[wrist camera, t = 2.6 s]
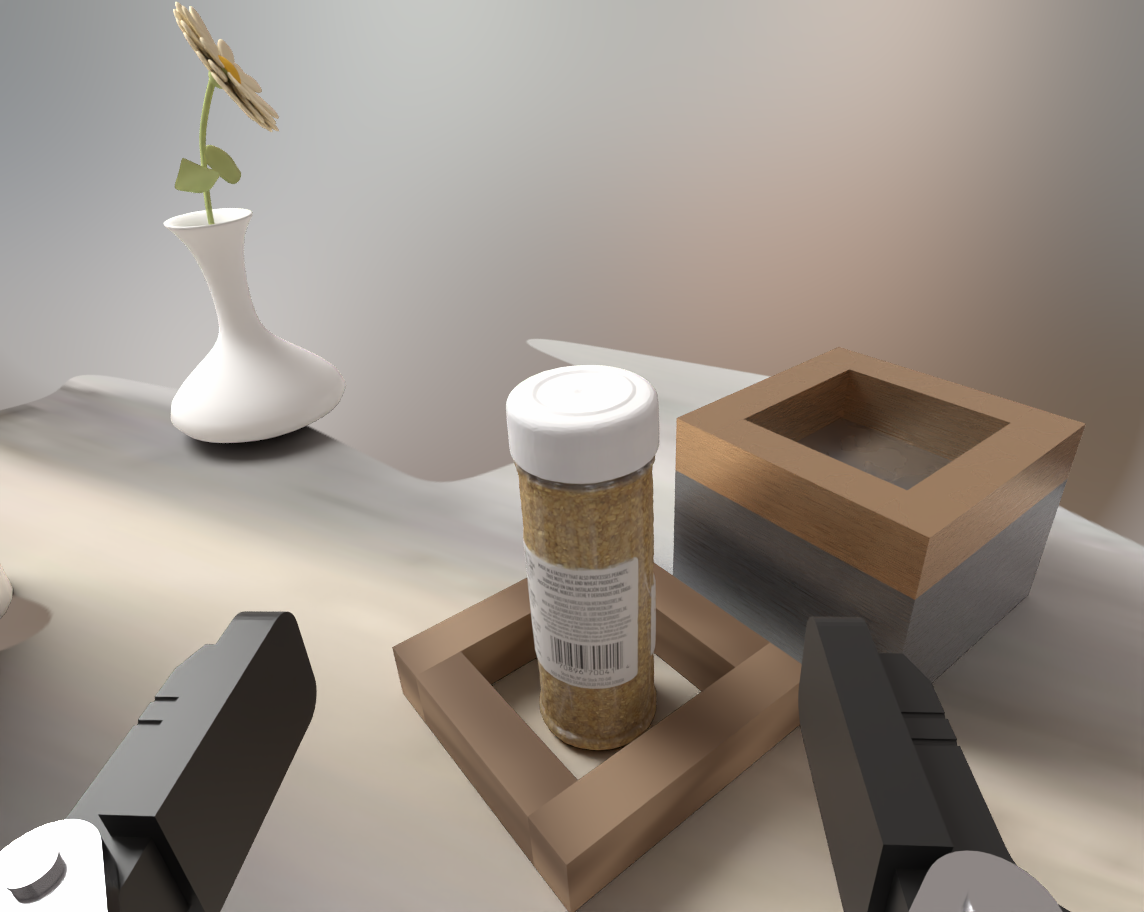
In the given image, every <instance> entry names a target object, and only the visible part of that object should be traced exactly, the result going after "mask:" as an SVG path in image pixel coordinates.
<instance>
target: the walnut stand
mask: <svg viewBox="0 0 1144 912" xmlns="http://www.w3.org/2000/svg"><path fill="white" fill-rule="evenodd" d="M653 573H654V576H655V582H656V642H655V649H654V653H655V654H657V655H658V656H659V657H660V658H661V659H663V660H664V661H665V662H666V663H668V664H669V665H670V666H671V667H673V668H674V669H675V670H676V671H678V672H679V673H680V674H681V675H683V676H684V677H685V678H686V679H687V680H689V681H690V682H691V683H692V684H694V685H695V686H696V687H697V688H699V689H700V690H701V691H702V692H701V693H699V694H698V695H696V696H695V697H694V698H692V699H691V700H689V701H688V702H687V703H685V704H684V705H682V706H681V707H680V708H678V709H677V710H675V711H674V712H673V713H671V714H670V715H668V716H667V717H666V718H664V719H663V720H661V721H660V722H659V723H657V724H656V725H655V726H653V727H652V728H650V729H649V730H648V731H646V732H645V733H643V734H642V735H641V736H639V737H638V738H636V739H635V740H634V741H632V742H631V743H629V744H628V745H627V746H625V747H624V748H622V749H621V750H620V751H618V752H617V753H616V754H614V755H613V756H611V757H610V758H609V759H607V760H606V761H604V762H603V763H602V764H600V765H599V766H597V767H596V768H595V769H593V770H592V771H590V772H589V773H588V774H586V775H585V776H583V777H582V778H581V779H579V780H577V779H576V778H575V777H574V776H573V774H572V773H571V772H570V771H569V770H568V769H567V768H566V767H565V766H564V765H563V763H562V762H561V761H560V760H559V759H558V758H557V757H556V756H555V755H554V754H553V752H552V751H551V750H550V749H549V748H548V747H547V746H546V745H545V744H544V743H543V741H542V740H541V739H540V738H539V737H538V736H537V735H536V734H535V733H534V732H533V730H532V729H531V728H530V727H529V726H528V725H527V724H526V723H525V722H524V721H523V719H522V718H521V717H520V716H519V715H518V714H517V713H516V712H515V711H514V710H513V708H512V707H511V706H510V705H509V704H508V703H507V702H506V701H505V700H504V699H503V697H502V696H501V695H500V694H499V693H498V692H497V691H496V690H495V689H494V688H493V686H492V685H491V684H492V683H494V682H496V681H498V680H499V679H501V678H503V677H504V676H506V675H508V674H509V673H511V672H513V671H514V670H516V669H518V668H520V667H521V666H523V665H525V664H526V663H528V662H530V661H531V660H533V659H535V658H537V655H536V651H535V644H534V635H533V627H532V618H531V609H530V599H529V589H528V579H527V578H525V579H523V580H521V581H520V582H518V583H516V584H514V585H512V586H510V587H508V588H506V589H504V590H502V591H500V592H498V593H496V594H494V595H492V596H491V597H489V598H487V599H485V600H483V601H481V602H479V603H477V604H475V605H473V606H471V607H469V608H467V609H465V610H463V611H462V612H460V613H458V614H456V615H454V616H452V617H450V618H448V619H446V620H444V621H442V622H440V623H438V624H436V625H435V626H433V627H431V628H429V629H427V630H425V631H423V632H421V633H419V634H417V635H415V636H413V637H411V638H409V639H407V640H406V641H404V642H402V643H400V644H398V645H396V646H394V647H392V648H393V652H394V656H395V661H396V665H397V669H398V674H399V678H400V682H401V686H402V691H403V694H404V695H405V696H406V698H407V699H408V700H409V702H410V703H411V704H412V706H413V707H414V708H415V710H416V711H417V712H418V714H419V715H420V716H421V718H422V719H423V720H424V721H425V723H426V724H427V725H428V727H429V728H430V729H431V731H432V732H433V733H434V735H435V736H436V737H437V739H438V740H439V741H440V743H441V744H442V745H443V747H444V748H445V749H446V750H447V752H448V753H449V754H450V756H451V757H452V758H453V760H454V761H455V762H456V764H457V765H458V766H459V768H460V769H461V770H462V772H463V773H464V774H465V776H466V777H467V778H468V779H469V781H470V782H471V783H472V785H473V786H474V787H475V789H476V790H477V791H478V793H479V794H480V795H481V797H482V798H483V799H484V801H485V802H486V803H487V805H488V806H489V807H490V808H491V810H492V811H493V812H494V814H495V815H496V816H497V818H498V819H499V820H500V822H501V823H502V824H503V826H504V827H505V828H506V830H507V831H508V832H509V834H510V835H511V836H512V838H513V839H514V840H515V841H516V843H517V844H518V845H519V847H520V848H521V849H522V851H523V852H524V853H525V855H526V856H527V857H528V859H529V860H530V861H531V863H532V864H533V865H534V867H535V868H536V869H537V870H538V872H539V873H540V874H541V876H542V877H543V878H544V880H545V881H546V882H547V884H548V885H549V886H550V888H551V889H552V890H553V892H554V893H555V894H556V896H557V897H558V898H559V899H560V901H561V902H562V903H563V905H564V906H565V907H566V909H567V910H568V911H569V912H575V911H576V910H577V909H578V908H580V907H581V906H582V905H583V904H584V903H586V902H587V901H588V900H589V899H590V898H592V897H593V896H594V895H595V894H596V893H598V892H599V891H600V890H601V889H602V888H604V887H605V886H606V885H607V884H608V883H610V882H611V881H612V880H613V879H614V878H616V877H617V876H618V875H619V874H621V873H622V872H623V871H624V870H625V869H627V868H628V867H629V866H630V865H631V864H633V863H634V862H635V861H636V860H637V859H639V858H640V857H641V856H642V855H643V854H645V853H646V852H647V851H648V850H649V849H651V848H652V847H653V846H654V845H655V844H657V843H658V842H659V841H660V840H662V839H663V838H664V837H665V836H666V835H668V834H669V833H670V832H671V831H672V830H674V829H675V828H676V827H677V826H678V825H680V824H681V823H682V822H683V821H684V820H686V819H687V818H688V817H689V816H690V815H692V814H693V813H694V812H695V811H696V810H698V809H699V808H700V807H701V806H702V805H704V804H705V803H706V802H707V801H709V800H710V799H711V798H712V797H713V796H715V795H716V794H717V793H718V792H719V791H721V790H722V789H723V788H724V787H725V786H727V785H728V784H729V783H730V782H731V781H733V780H734V779H735V778H736V777H737V776H739V775H740V774H741V773H742V772H743V771H745V770H746V769H747V768H748V767H749V766H751V765H752V764H753V763H754V762H756V761H757V760H758V759H759V758H760V757H762V756H763V755H764V754H765V753H766V752H768V751H769V750H770V749H771V748H772V747H774V746H775V745H776V744H777V743H778V742H780V741H781V740H782V739H783V738H784V737H786V736H787V735H788V734H789V733H790V732H792V731H793V730H794V729H795V728H796V727H798V726H799V725H800V719H799V708H798V691H799V682H800V674H801V666H802V664H801V663H799V662H798V661H796V660H795V659H794V658H792V657H791V656H789V655H788V654H786V653H785V652H783V651H782V650H780V649H779V648H778V647H776V646H775V645H773V644H772V643H770V642H769V641H767V640H766V639H764V638H763V637H762V636H760V635H759V634H757V633H756V632H754V631H753V630H751V629H750V628H748V627H747V626H745V625H744V624H743V623H741V622H740V621H738V620H737V619H735V618H734V617H732V616H731V615H729V614H728V613H727V612H725V611H724V610H722V609H721V608H719V607H718V606H716V605H715V604H713V603H712V602H710V601H709V600H708V599H706V598H705V597H703V596H702V595H700V594H699V593H697V592H696V591H694V590H693V589H692V588H690V587H689V586H687V585H686V584H684V583H683V582H681V581H680V580H678V579H677V578H676V577H674V576H673V575H671V574H670V573H668V572H667V571H665V570H664V569H662V568H661V567H659V566H658V565H657V564H655V563H654V566H653Z"/></svg>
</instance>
